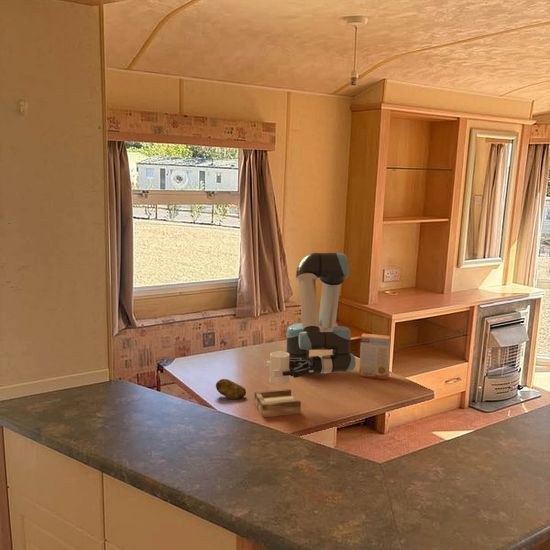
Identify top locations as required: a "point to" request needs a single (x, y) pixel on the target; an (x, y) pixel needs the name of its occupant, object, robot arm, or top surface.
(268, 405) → the display stand
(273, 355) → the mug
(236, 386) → the potato
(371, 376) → the cracker box
